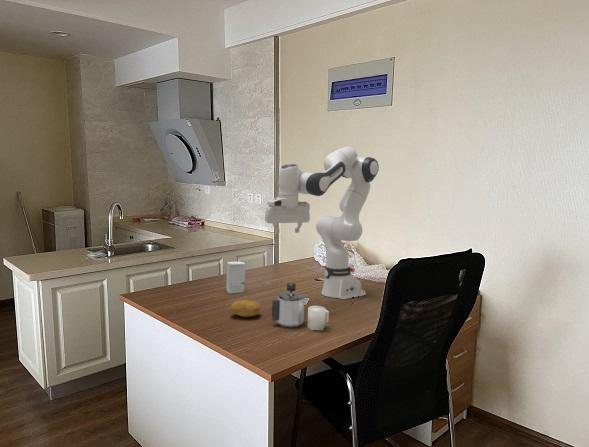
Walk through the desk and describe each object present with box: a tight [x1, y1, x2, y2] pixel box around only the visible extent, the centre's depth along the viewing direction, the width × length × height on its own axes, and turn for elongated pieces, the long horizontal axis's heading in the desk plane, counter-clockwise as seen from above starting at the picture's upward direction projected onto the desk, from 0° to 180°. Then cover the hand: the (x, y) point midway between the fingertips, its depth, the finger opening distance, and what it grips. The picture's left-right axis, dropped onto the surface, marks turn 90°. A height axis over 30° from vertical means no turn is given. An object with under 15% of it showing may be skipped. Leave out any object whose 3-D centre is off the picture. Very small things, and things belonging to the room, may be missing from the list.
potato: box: [230, 299, 262, 318], centre depth 185 cm, size 9×13×7 cm
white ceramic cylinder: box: [306, 305, 330, 331], centre depth 174 cm, size 8×7×8 cm
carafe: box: [271, 290, 305, 328], centre depth 178 cm, size 13×11×12 cm
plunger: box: [286, 282, 297, 301], centre depth 178 cm, size 8×8×15 cm
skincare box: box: [225, 261, 246, 294], centre depth 219 cm, size 8×6×15 cm
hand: (287, 232), depth 193 cm, fingers open, 8 cm apart
